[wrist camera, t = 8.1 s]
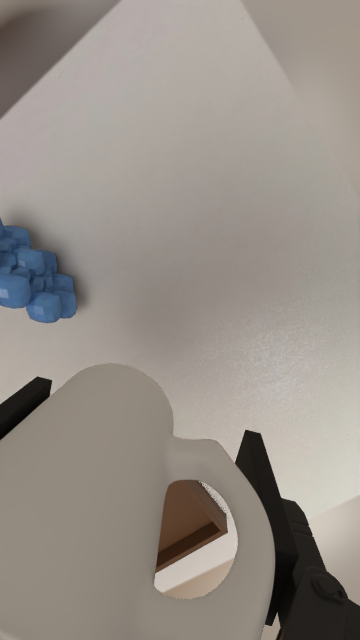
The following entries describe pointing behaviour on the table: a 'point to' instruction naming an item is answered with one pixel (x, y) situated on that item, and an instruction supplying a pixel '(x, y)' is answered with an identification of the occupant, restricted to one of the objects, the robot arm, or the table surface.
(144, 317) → the table surface
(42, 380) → the robot arm
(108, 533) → the mug
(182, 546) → the tray
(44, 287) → the blue sphere cluster
